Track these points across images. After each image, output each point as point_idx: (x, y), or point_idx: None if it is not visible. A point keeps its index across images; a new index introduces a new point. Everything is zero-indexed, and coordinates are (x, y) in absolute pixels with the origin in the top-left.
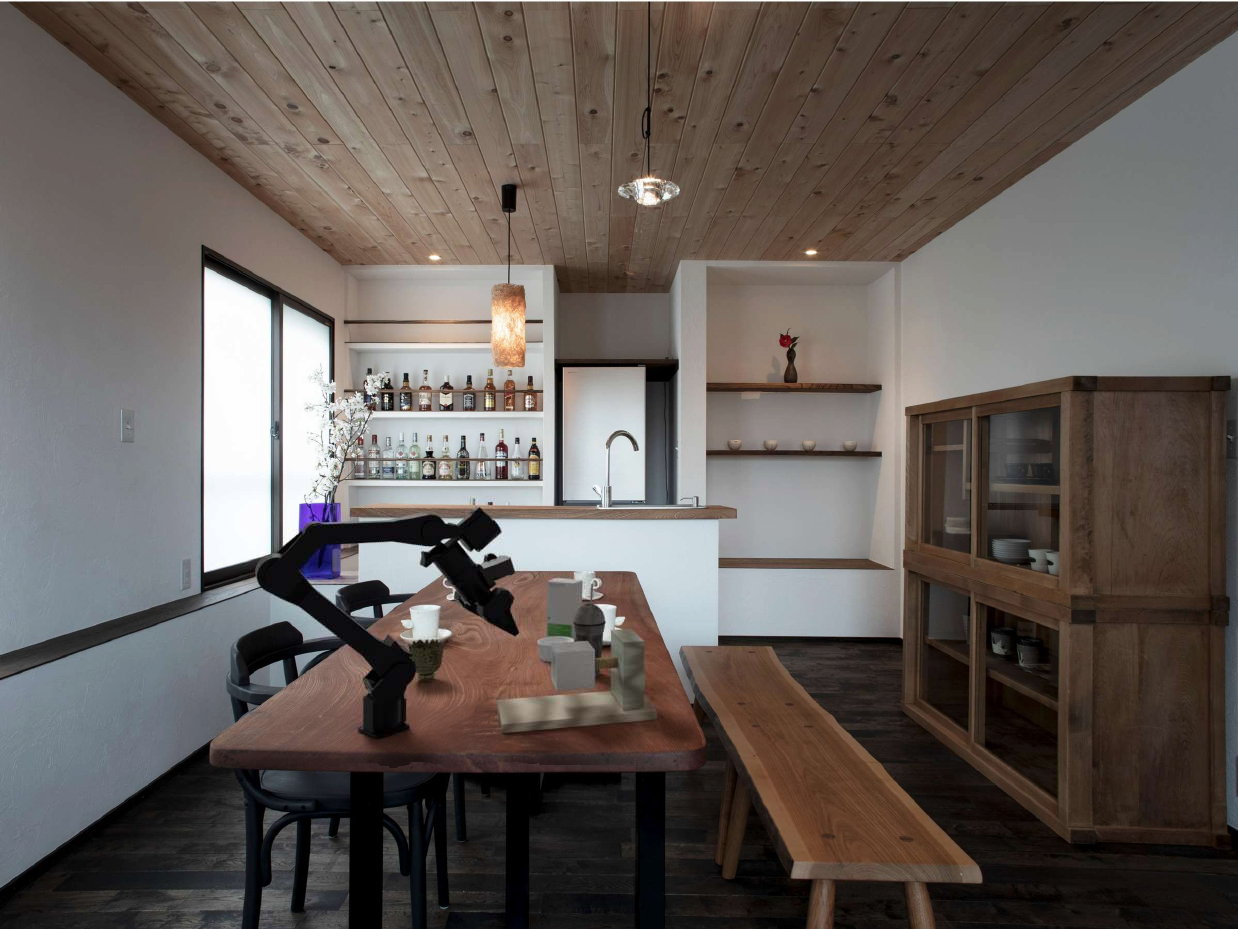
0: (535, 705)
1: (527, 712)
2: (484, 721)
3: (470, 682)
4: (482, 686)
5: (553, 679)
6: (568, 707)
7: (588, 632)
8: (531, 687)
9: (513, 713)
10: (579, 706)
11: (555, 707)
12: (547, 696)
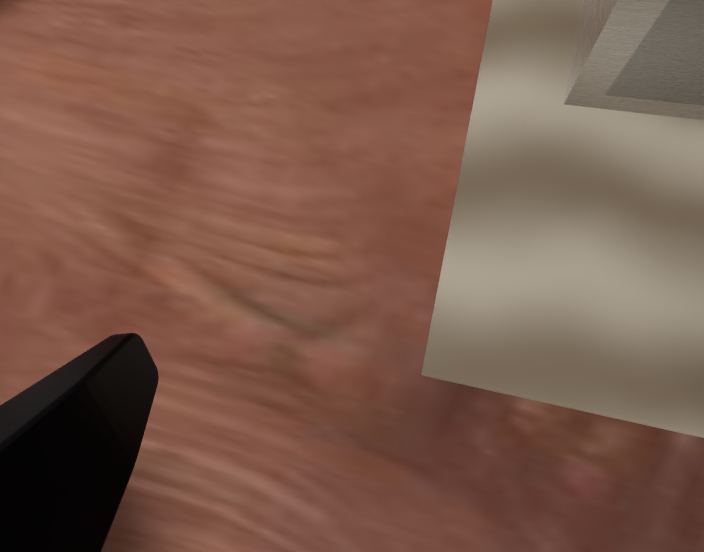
0: (576, 231)
1: (661, 294)
2: (570, 472)
3: None
4: None
5: (665, 103)
6: None
7: None
8: (229, 161)
9: (646, 359)
10: None
11: (646, 151)
12: (472, 144)
